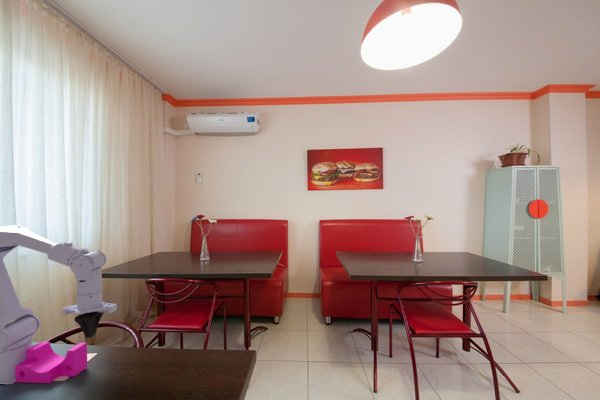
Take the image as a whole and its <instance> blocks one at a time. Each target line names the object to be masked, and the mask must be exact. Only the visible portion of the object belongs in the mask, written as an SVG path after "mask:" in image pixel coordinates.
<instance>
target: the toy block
mask: <svg viewBox="0 0 600 400" xmlns="http://www.w3.org/2000/svg"><path fill="white" fill-rule="evenodd" d="M87 354H88V342H79V343H78V344H76V345H74V346H72V347H71V348H69V349H67V351H66V355H65V356H62V355H59V354H57V353H56V352H55V351H54V349H53V348H52V345H51V342H50V341H40V342H38V343H36V344H33V346H32V347H30V348H28V349H26V360H25V361H23V362H22V363H20V364H18V365H16V366H15V383H29V384H30V383H31V384H33V383H35V384H51V383H52V382H54V381H53V380H55V379H56V378H58V377H59V376H65V377H69V378H70V377H72V378H75V377H76V376H77V375H79V374H80V373H81V372H83V371H84V370H86V369H87V368H88V362H87Z"/></svg>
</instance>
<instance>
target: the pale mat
mask: <svg viewBox="0 0 600 400" xmlns="http://www.w3.org/2000/svg"><path fill="white" fill-rule="evenodd" d="M98 354H99V353H98V352H96V353H95V352H94V353H87V363H89V362H90V361H91V360H92V359H94V358H96V357H97V355H98ZM69 378H70V377H65V376H59V377H58V378H56V379H55V380H53V381H52V382H61V381H66V380H68V379H69Z"/></svg>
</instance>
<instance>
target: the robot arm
mask: <svg viewBox="0 0 600 400" xmlns="http://www.w3.org/2000/svg"><path fill="white" fill-rule="evenodd" d="M73 244H74V243H73V242H72V241H62V242H58V243H57V242H54V241H52V240H49V239H47V238H46V237H43V236H41V235H38V234H37V233H34V232H32V231H30V229H29V227H25V226H24V227H23V226H21V225H19V224H18V225H17V224H12V225H11V224H10V225H4V226H0V384H5V385H13V384H15V383H16V382H15V366H16V365H18V364H20V363H22V362H23V361H25V360H26V349H28V348H30V347H32V346H34V343H33V342H34V339H33V338H34V337H35V336H36V333H37V332H38V331H39V329H40V327H41V320H40V319H39V317H38V316H36V315H35V314H34V312H33V310H32V309H31V308H27V307H22V306H21V304H20V300H19V297H18V296H17V292H16V290H15V288H14V284H13V283H12V282H13V281H12V280H11V277H10V275H9V271H8V270H7V267H6V265H5V261H4V258H5V257H6V256H7V255H8V254H9V253H10V252H12V251H13V250H14V249H17V248H18V247H19V246H20V247H23V248H26V249H29V250H33V251H36V252H39V253H43V254H46V255H47V258H48V260H50V261H52V262H54V263H58V264H61V265H64V266H66V267H69V268H70V270H71V272H72V273H73V274H74V279H75V280H76V281H75V282H76V304H74V305H72V304H71V305H67V306H65V307H63V308H62V310H61V312H62V316H63V315H69V314H74V315H75V317H74V318H73V319H74V322H75V323H77V325H79V326H80V329H81V331H82V333H83V335H84V338H85V339H91V338H92V337H94V336H95V335H96V333H97V330H98V327H99V323H100V321H101V319H102V317H103V315H104V313H109V314H113V313H115V312H116V311H117V310H118V305H117V303H111V302H109V303H108V302H104V301H103V276H102V275H103V273H102V272H103V271H102V267H103V266H104V265H105V264H106V262H107V257H106V255H105V254H104V253H103V252H102V251H100V250H97V249H95V250H92V251H91V250H89V249H88V248H81V247H79V246H77V245H73Z"/></svg>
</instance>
